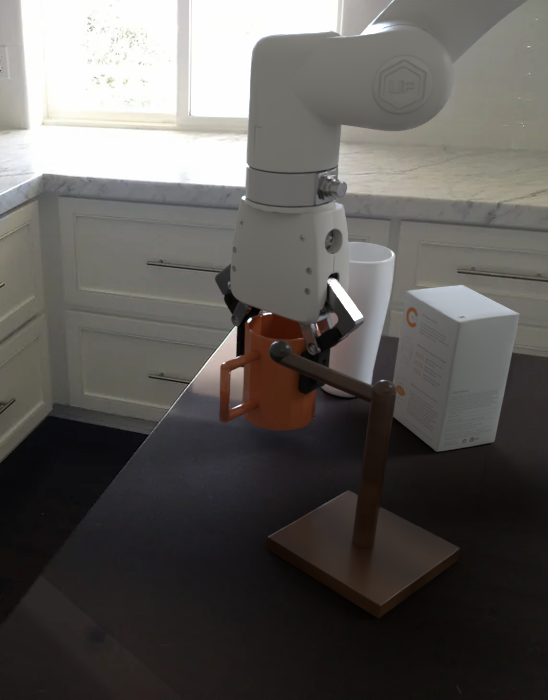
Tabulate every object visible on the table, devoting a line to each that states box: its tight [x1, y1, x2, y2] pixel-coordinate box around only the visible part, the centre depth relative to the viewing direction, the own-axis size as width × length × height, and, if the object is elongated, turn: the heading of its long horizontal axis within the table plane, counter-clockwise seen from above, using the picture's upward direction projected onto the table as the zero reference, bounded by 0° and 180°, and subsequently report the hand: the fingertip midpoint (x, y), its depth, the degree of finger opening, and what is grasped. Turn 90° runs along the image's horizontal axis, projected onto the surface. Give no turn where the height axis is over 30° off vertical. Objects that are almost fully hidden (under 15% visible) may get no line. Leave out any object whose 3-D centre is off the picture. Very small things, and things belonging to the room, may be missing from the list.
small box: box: [392, 284, 520, 453], centre depth 80 cm, size 8×6×13 cm
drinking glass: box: [320, 241, 396, 398], centre depth 88 cm, size 7×7×15 cm
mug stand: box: [266, 340, 461, 619], centre depth 65 cm, size 10×15×15 cm, turn 38°
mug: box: [218, 312, 321, 432], centre depth 79 cm, size 11×7×9 cm, turn 128°
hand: (279, 373), depth 80 cm, fingers closed on mug, 6 cm apart
